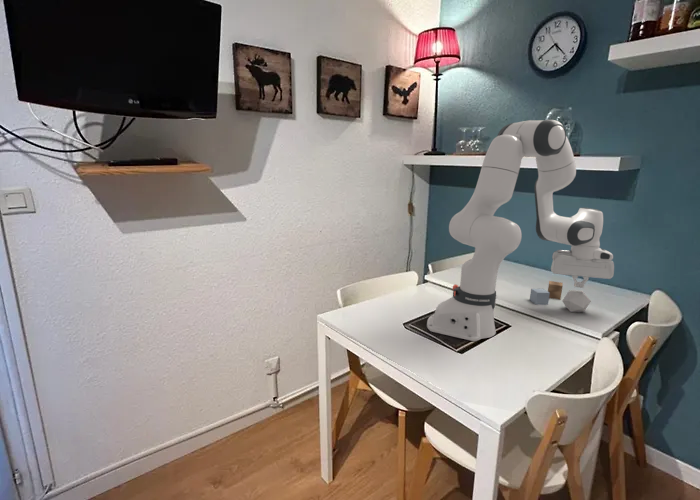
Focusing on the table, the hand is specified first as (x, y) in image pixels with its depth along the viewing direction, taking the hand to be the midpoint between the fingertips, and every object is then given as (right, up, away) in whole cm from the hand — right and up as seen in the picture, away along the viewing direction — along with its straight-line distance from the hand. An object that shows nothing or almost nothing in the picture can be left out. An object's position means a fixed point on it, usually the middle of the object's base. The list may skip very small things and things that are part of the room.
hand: (578, 287), depth 148 cm
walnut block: (-1, -6, +17) cm, 18 cm away
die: (0, -9, +2) cm, 10 cm away
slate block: (-10, -7, +10) cm, 16 cm away
